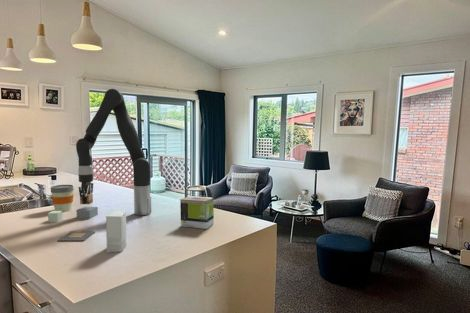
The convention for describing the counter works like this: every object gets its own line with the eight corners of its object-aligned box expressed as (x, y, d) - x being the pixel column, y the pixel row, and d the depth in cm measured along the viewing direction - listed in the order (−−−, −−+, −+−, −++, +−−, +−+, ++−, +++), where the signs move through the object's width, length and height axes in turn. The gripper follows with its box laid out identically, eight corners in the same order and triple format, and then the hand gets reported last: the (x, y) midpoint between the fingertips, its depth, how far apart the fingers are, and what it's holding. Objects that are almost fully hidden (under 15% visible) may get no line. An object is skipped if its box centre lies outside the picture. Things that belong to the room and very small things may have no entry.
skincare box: (112, 245, 138) (111, 210, 137) (127, 244, 139) (126, 210, 137) (106, 252, 130) (104, 216, 129) (122, 252, 131) (121, 215, 129)
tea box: (214, 224, 169) (214, 197, 168) (206, 229, 160) (206, 201, 158) (189, 221, 174) (188, 194, 173) (180, 226, 165) (179, 198, 163)
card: (95, 232, 155) (95, 230, 155) (84, 241, 143) (84, 239, 143) (70, 232, 155) (70, 230, 155) (57, 241, 143) (57, 239, 143)
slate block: (97, 215, 186) (97, 206, 185) (90, 219, 178) (89, 210, 178) (85, 214, 187) (84, 206, 186) (76, 218, 179) (76, 209, 178)
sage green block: (62, 219, 177) (62, 210, 176) (57, 222, 172) (57, 213, 171) (53, 219, 177) (53, 210, 176) (48, 222, 172) (47, 213, 171)
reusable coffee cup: (46, 211, 192) (45, 187, 191) (64, 206, 204) (63, 184, 203) (61, 213, 188) (60, 189, 186) (79, 208, 199) (78, 185, 198)
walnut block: (92, 202, 184) (92, 193, 184) (89, 204, 179) (88, 195, 179) (84, 202, 184) (83, 193, 183) (80, 204, 179) (79, 195, 178)
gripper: (86, 175, 173) (87, 205, 174) (97, 171, 187) (98, 199, 189) (73, 175, 173) (74, 205, 174) (84, 171, 187) (85, 199, 189)
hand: (86, 202), depth 181 cm, fingers closed on walnut block, 5 cm apart
